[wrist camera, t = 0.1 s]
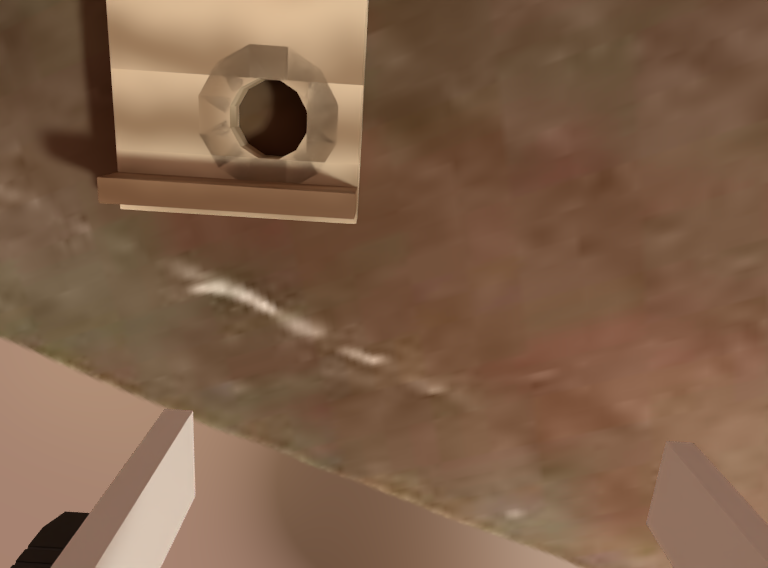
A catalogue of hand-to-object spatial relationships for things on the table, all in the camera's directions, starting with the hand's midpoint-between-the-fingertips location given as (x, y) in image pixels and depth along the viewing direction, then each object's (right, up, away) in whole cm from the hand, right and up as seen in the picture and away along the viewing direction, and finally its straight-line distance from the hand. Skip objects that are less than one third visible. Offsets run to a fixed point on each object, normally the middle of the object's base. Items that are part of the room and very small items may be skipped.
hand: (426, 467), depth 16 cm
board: (-10, +22, +22) cm, 33 cm away
